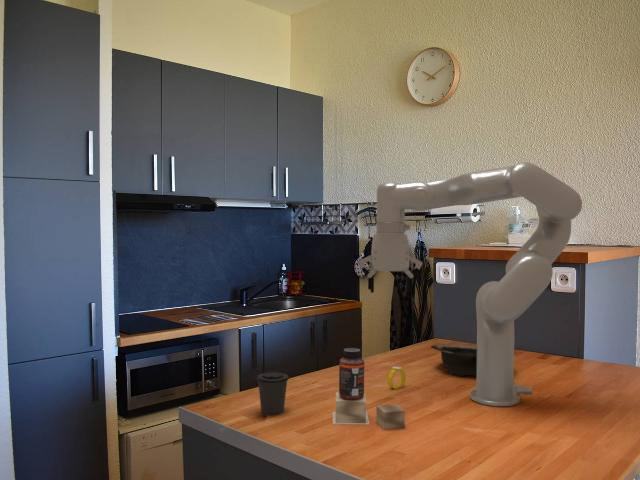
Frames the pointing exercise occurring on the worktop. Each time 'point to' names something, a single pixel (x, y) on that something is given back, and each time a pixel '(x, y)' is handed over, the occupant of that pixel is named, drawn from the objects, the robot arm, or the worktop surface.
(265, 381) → the coffee cup
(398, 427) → the oak block
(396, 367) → the watch
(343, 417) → the maple block
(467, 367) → the black cooking pot
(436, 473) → the worktop surface
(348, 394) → the supplement bottle
